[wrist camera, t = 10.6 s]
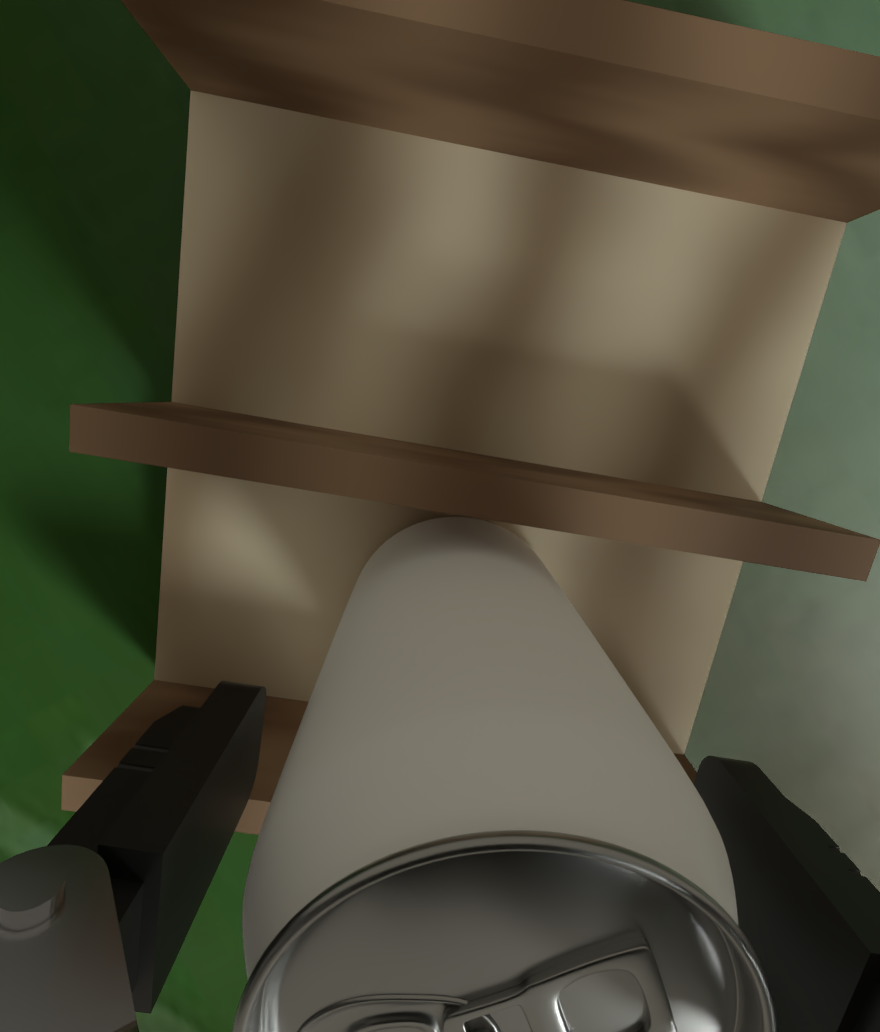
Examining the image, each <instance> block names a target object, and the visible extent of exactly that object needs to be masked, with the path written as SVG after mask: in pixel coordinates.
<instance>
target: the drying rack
mask: <svg viewBox="0 0 880 1032" xmlns="http://www.w3.org/2000/svg"><path fill="white" fill-rule="evenodd" d="M121 2H122V3H123V4H124V6H125V7H126V8H127V9H128V11H129V12H130V13H131V15H132V16H133V17H134V18H135V20H136V21H137V22H138V24H139V25H140V26H141V27H142V29H143V30H144V31H145V32H146V34H147V35H148V36H149V38H150V39H151V40H152V41H153V43H154V44H155V45H156V47H157V48H158V49H159V50H160V52H161V53H162V54H163V56H164V57H165V58H166V59H167V61H168V62H169V63H170V64H171V66H172V67H173V68H174V70H175V71H176V72H177V73H178V75H179V76H180V77H181V79H182V80H183V81H184V82H185V84H186V85H187V86H188V88H189V89H190V90H191V93H190V109H189V125H188V141H187V158H186V174H185V190H184V206H183V223H182V239H181V255H180V271H179V288H178V304H177V320H176V336H175V353H174V369H173V385H172V401H171V402H142V403H100V404H70V444H69V452H75V453H81V454H87V455H94V456H100V457H106V458H112V459H118V460H124V461H130V462H137V463H143V464H149V465H155V466H161V467H167V482H166V499H165V515H164V531H163V547H162V564H161V580H160V596H159V612H158V629H157V645H156V661H155V677H154V681H153V682H152V683H151V684H150V685H149V686H148V687H147V688H146V689H145V690H144V691H143V692H142V693H141V694H140V695H139V696H138V697H137V698H136V699H135V700H134V701H133V702H132V704H131V705H130V706H129V707H128V708H127V709H126V710H125V711H124V712H123V713H122V714H121V715H120V716H119V717H118V718H117V719H116V720H115V721H114V722H113V723H112V724H111V725H110V726H109V727H108V728H107V729H106V730H105V731H104V732H103V733H102V735H101V736H100V737H99V738H98V739H97V740H96V741H95V742H94V743H93V744H92V745H91V746H90V747H89V748H88V749H87V750H86V751H85V752H84V753H83V754H82V755H81V756H80V757H79V758H78V759H77V760H76V761H75V762H74V763H73V765H72V766H71V767H70V768H69V769H68V770H67V771H66V772H65V773H64V774H63V775H62V810H68V811H75V812H77V810H78V809H79V808H80V807H81V806H82V805H83V803H84V802H85V801H86V800H87V799H88V798H89V797H90V795H91V794H92V793H93V792H94V791H95V790H96V788H97V787H98V786H99V785H100V784H101V783H102V781H103V780H104V779H105V778H106V777H107V776H108V774H109V773H110V772H111V771H112V770H113V769H114V768H115V767H116V768H117V767H118V765H119V762H120V761H121V759H122V758H123V757H124V756H125V755H126V754H127V752H128V751H129V750H130V749H131V748H134V746H135V743H136V742H137V741H138V740H139V739H140V737H141V736H142V735H143V734H144V733H145V732H146V730H147V729H148V728H149V727H150V726H151V725H152V723H153V722H154V721H156V720H158V719H159V718H161V717H163V716H165V715H166V714H168V713H170V712H171V711H173V710H175V709H177V708H178V707H180V706H182V705H185V706H191V707H198V708H201V706H202V705H203V704H204V702H205V701H206V700H207V698H208V697H209V696H210V694H211V693H212V692H213V690H214V689H215V688H216V686H217V685H218V684H219V683H220V682H221V681H223V680H225V681H231V682H238V683H244V684H251V685H257V686H264V687H265V688H266V703H265V712H264V720H263V729H262V737H261V745H260V754H259V762H258V768H257V773H256V777H255V781H254V785H253V788H252V792H251V795H250V797H249V800H248V802H247V805H246V807H245V809H244V811H243V814H242V816H241V818H240V820H239V822H238V824H237V827H236V829H235V831H234V832H241V833H249V834H257V835H259V834H260V831H261V828H262V825H263V822H264V819H265V816H266V813H267V810H268V808H269V805H270V802H271V800H272V797H273V794H274V792H275V789H276V786H277V784H278V781H279V778H280V776H281V773H282V770H283V768H284V765H285V762H286V760H287V757H288V755H289V752H290V749H291V747H292V744H293V742H294V739H295V736H296V734H297V731H298V729H299V726H300V723H301V721H302V718H303V716H304V713H305V710H306V708H307V705H308V703H309V700H310V697H311V695H312V692H313V690H314V687H315V685H316V682H317V679H318V677H319V674H320V672H321V669H322V667H323V664H324V661H325V659H326V656H327V654H328V651H329V649H330V646H331V644H332V641H333V639H334V636H335V633H336V631H337V628H338V626H339V623H340V621H341V618H342V616H343V613H344V611H345V608H346V606H347V603H348V601H349V598H350V596H351V593H352V591H353V589H354V586H355V584H356V582H357V580H358V577H359V575H360V573H361V571H362V570H363V568H364V566H365V565H366V563H367V562H368V560H369V559H370V558H371V556H372V555H373V554H374V553H375V552H376V550H377V549H378V548H379V547H380V546H381V545H383V544H384V543H385V542H386V541H387V540H388V539H390V538H391V537H392V536H394V535H395V534H397V533H398V532H400V531H402V530H404V529H406V528H408V527H410V526H412V525H414V524H417V523H420V522H423V521H426V520H430V519H435V518H442V517H468V518H475V519H479V520H483V521H487V522H490V523H493V524H495V525H498V526H500V527H502V528H504V529H506V530H508V531H509V532H511V533H513V534H514V535H516V536H517V537H518V538H520V539H521V540H522V541H523V542H524V543H526V544H527V545H528V546H529V547H530V548H531V549H532V550H533V551H534V553H535V554H536V555H537V556H538V557H539V559H540V560H541V561H542V563H543V564H544V565H545V567H546V568H547V569H548V571H549V572H550V574H551V575H552V576H553V578H554V579H555V581H556V582H557V584H558V585H559V586H560V588H561V589H562V591H563V592H564V594H565V595H566V596H567V598H568V599H569V601H570V602H571V604H572V605H573V607H574V608H575V609H576V611H577V612H578V614H579V615H580V617H581V618H582V620H583V621H584V622H585V624H586V625H587V627H588V628H589V630H590V631H591V633H592V634H593V636H594V637H595V639H596V640H597V641H598V643H599V644H600V646H601V647H602V649H603V650H604V652H605V653H606V655H607V656H608V657H609V659H610V660H611V662H612V663H613V665H614V666H615V668H616V669H617V671H618V672H619V674H620V675H621V677H622V678H623V679H624V681H625V682H626V684H627V685H628V687H629V688H630V690H631V691H632V693H633V694H634V696H635V697H636V699H637V700H638V702H639V703H640V704H641V706H642V707H643V709H644V710H645V712H646V713H647V715H648V716H649V718H650V719H651V721H652V722H653V724H654V725H655V727H656V728H657V730H658V731H659V733H660V734H661V736H662V737H663V739H664V740H665V742H666V743H667V745H668V746H669V748H670V749H671V751H672V752H673V754H674V755H675V757H676V758H677V760H678V761H679V763H680V764H681V766H682V767H683V769H684V771H685V772H686V774H687V775H688V777H689V778H690V780H691V782H692V783H693V785H694V781H695V778H696V775H697V772H696V770H695V769H694V768H693V766H692V765H691V763H690V762H689V761H688V759H687V758H686V756H685V755H684V754H685V750H686V747H687V744H688V741H689V737H690V734H691V731H692V728H693V724H694V721H695V718H696V714H697V711H698V708H699V705H700V701H701V698H702V695H703V692H704V688H705V685H706V682H707V678H708V675H709V672H710V669H711V665H712V662H713V659H714V656H715V652H716V649H717V646H718V642H719V639H720V636H721V633H722V629H723V626H724V623H725V620H726V616H727V613H728V610H729V606H730V603H731V600H732V597H733V593H734V590H735V587H736V584H737V580H738V577H739V574H740V570H741V567H742V564H743V561H744V562H750V563H756V564H763V565H769V566H775V567H781V568H787V569H793V570H799V571H806V572H812V573H818V574H824V575H830V576H836V577H842V578H848V579H855V580H861V581H866V580H867V578H868V575H869V572H870V569H871V567H872V564H873V561H874V558H875V555H876V553H877V550H878V547H879V544H880V540H879V539H876V538H873V537H869V536H866V535H863V534H860V533H857V532H854V531H851V530H848V529H844V528H841V527H838V526H835V525H832V524H829V523H826V522H823V521H819V520H816V519H813V518H810V517H807V516H804V515H801V514H798V513H794V512H791V511H788V510H785V509H782V508H779V507H776V506H773V505H769V504H766V503H763V502H762V498H763V495H764V492H765V489H766V485H767V482H768V479H769V476H770V472H771V469H772V466H773V462H774V459H775V456H776V453H777V449H778V446H779V443H780V440H781V436H782V433H783V430H784V426H785V423H786V420H787V417H788V413H789V410H790V407H791V404H792V400H793V397H794V394H795V390H796V387H797V384H798V381H799V377H800V374H801V371H802V368H803V364H804V361H805V358H806V354H807V351H808V348H809V345H810V341H811V338H812V335H813V332H814V328H815V325H816V322H817V318H818V315H819V312H820V309H821V305H822V302H823V299H824V296H825V292H826V289H827V286H828V282H829V279H830V276H831V273H832V269H833V266H834V263H835V259H836V256H837V253H838V250H839V246H840V243H841V240H842V237H843V233H844V230H845V227H846V223H848V222H850V221H852V220H855V219H857V218H860V217H862V216H864V215H867V214H869V213H872V212H874V211H877V210H879V209H880V57H878V56H873V55H869V54H864V53H860V52H855V51H851V50H846V49H842V48H837V47H833V46H828V45H824V44H819V43H815V42H810V41H806V40H801V39H797V38H792V37H787V36H783V35H778V34H774V33H769V32H765V31H760V30H756V29H751V28H747V27H742V26H738V25H733V24H729V23H724V22H720V21H715V20H711V19H706V18H702V17H697V16H693V15H688V14H684V13H679V12H674V11H670V10H665V9H661V8H656V7H652V6H647V5H643V4H638V3H634V2H629V1H625V0H121Z"/></svg>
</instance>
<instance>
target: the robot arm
mask: <svg viewBox="0 0 880 1032" xmlns="http://www.w3.org/2000/svg"><path fill="white" fill-rule="evenodd" d="M265 703H266V688H265V687H264V686H257V685H251V684H244V683H238V682H231V681H225V680H223V681H221V682H220V683H219V684H218V685H217V686H216V688H215V689H214V690H213V692H212V693H211V694H210V696H209V697H208V698H207V700H206V701H205V702H204V704H203V705H202V706H201V708H198V707H191V706H185V705H182V706H180V707H178V708H177V709H175V710H173V711H171V712H170V713H168V714H166V715H165V716H163V717H161V718H159V719H158V720H156V721H154V722H153V723H152V725H151V726H150V727H149V728H148V729H147V730H146V732H145V733H144V734H143V735H142V736H141V737H140V739H139V740H138V741H137V742H136V743H135V746H134V748H131V749H130V750H129V751H128V752H127V754H126V755H125V756H124V757H123V758H122V759H121V761H120V762H119V765H118V767H117V768H116V767H115V768H114V769H113V770H112V771H111V772H110V773H109V774H108V776H107V777H106V778H105V779H104V780H103V781H102V783H101V784H100V785H99V786H98V787H97V788H96V790H95V791H94V792H93V793H92V794H91V795H90V797H89V798H88V799H87V800H86V801H85V802H84V803H83V805H82V806H81V807H80V808H79V809H78V810H77V812H76V813H75V814H74V815H73V816H72V817H71V819H70V820H69V821H68V822H67V823H66V824H65V826H64V827H63V828H62V829H61V830H60V831H59V832H58V834H57V835H56V836H55V837H54V838H53V839H52V841H51V842H50V843H49V844H48V845H47V846H45V847H40V848H36V849H32V850H29V851H26V852H23V853H21V854H18V855H15V856H13V857H11V858H9V859H7V860H5V861H3V862H1V863H0V1032H139V1029H138V1025H137V1020H136V1015H135V1012H143V1013H151V1011H152V1009H153V1007H154V1005H155V1003H156V1001H157V998H158V996H159V994H160V992H161V990H162V988H163V985H164V983H165V981H166V979H167V977H168V974H169V972H170V970H171V968H172V966H173V964H174V961H175V959H176V957H177V955H178V953H179V951H180V948H181V946H182V944H183V942H184V940H185V937H186V935H187V933H188V931H189V929H190V927H191V924H192V922H193V920H194V918H195V916H196V914H197V911H198V909H199V907H200V905H201V903H202V901H203V898H204V896H205V894H206V892H207V890H208V887H209V885H210V883H211V881H212V879H213V877H214V874H215V872H216V870H217V868H218V866H219V864H220V861H221V859H222V857H223V855H224V853H225V850H226V848H227V846H228V844H229V842H230V840H231V837H232V835H233V833H234V831H235V829H236V827H237V824H238V822H239V820H240V818H241V816H242V814H243V811H244V809H245V807H246V805H247V802H248V800H249V797H250V795H251V792H252V788H253V785H254V781H255V777H256V773H257V768H258V762H259V754H260V745H261V737H262V729H263V720H264V712H265ZM694 786H695V788H696V790H697V791H698V793H699V794H700V796H701V798H702V800H703V801H704V803H705V805H706V807H707V809H708V811H709V813H710V815H711V817H712V819H713V821H714V823H715V825H716V827H717V829H718V831H719V833H720V835H721V838H722V841H723V843H724V846H725V849H726V853H727V856H728V860H729V864H730V868H731V873H732V877H733V883H734V889H735V896H736V905H737V915H738V925H739V927H740V929H741V930H742V931H743V933H744V934H745V936H746V937H747V939H748V940H749V942H750V943H751V945H752V946H753V948H754V950H755V952H756V954H757V955H758V957H759V959H760V961H761V963H762V966H763V968H764V970H765V973H766V975H767V978H768V981H769V984H770V987H771V991H772V994H773V999H774V1003H775V1009H776V1017H777V1032H880V892H879V891H878V890H877V889H876V888H875V887H874V885H873V884H872V883H871V882H870V881H869V880H868V879H867V878H866V877H863V876H861V874H860V870H859V869H858V868H857V867H856V865H855V864H854V863H853V862H852V861H851V860H850V859H849V858H848V857H847V855H846V854H845V853H840V850H839V847H838V845H837V844H836V843H835V842H834V841H833V840H832V839H831V838H830V837H829V835H828V834H827V833H826V832H825V831H824V830H823V829H822V828H821V827H820V825H819V824H818V823H817V822H816V821H815V820H814V819H812V818H811V817H810V816H808V815H807V814H806V813H805V812H803V811H802V810H801V809H799V808H798V807H797V806H795V805H794V804H793V803H792V802H790V801H789V800H788V799H786V798H785V797H784V796H783V794H782V793H781V792H780V791H779V790H778V789H777V788H776V786H775V785H774V784H773V783H772V782H771V781H770V780H769V779H768V777H767V776H766V775H765V774H764V773H763V772H762V771H761V769H760V768H759V767H758V766H757V765H755V764H754V763H752V762H748V761H741V760H735V759H728V758H722V757H715V756H708V757H706V758H704V759H703V761H702V762H701V764H700V766H699V769H698V772H697V775H696V778H695V781H694Z"/></svg>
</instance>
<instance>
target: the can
mask: <svg viewBox="0 0 880 1032" xmlns="http://www.w3.org/2000/svg"><path fill="white" fill-rule="evenodd" d="M242 930H243V946H244V956H245V964H246V972H247V979H248V981H247V984H246V986H245V988H244V991H243V993H242V996H241V999H240V1002H239V1005H238V1008H237V1012H236V1016H235V1020H234V1025H233V1030H232V1032H777V1017H776V1009H775V1003H774V999H773V994H772V991H771V987H770V984H769V981H768V978H767V975H766V973H765V970H764V968H763V966H762V963H761V961H760V959H759V957H758V955H757V954H756V952H755V950H754V948H753V946H752V945H751V943H750V942H749V940H748V939H747V937H746V936H745V934H744V933H743V931H742V930H741V929H740V927H739V925H738V915H737V905H736V896H735V889H734V883H733V877H732V873H731V868H730V864H729V860H728V856H727V853H726V849H725V846H724V843H723V841H722V838H721V835H720V833H719V831H718V829H717V827H716V825H715V823H714V821H713V819H712V817H711V815H710V813H709V811H708V809H707V807H706V805H705V803H704V801H703V800H702V798H701V796H700V794H699V793H698V791H697V790H696V788H695V786H694V785H693V783H692V782H691V780H690V778H689V777H688V775H687V774H686V772H685V771H684V769H683V767H682V766H681V764H680V763H679V761H678V760H677V758H676V757H675V755H674V754H673V752H672V751H671V749H670V748H669V746H668V745H667V743H666V742H665V740H664V739H663V737H662V736H661V734H660V733H659V731H658V730H657V728H656V727H655V725H654V724H653V722H652V721H651V719H650V718H649V716H648V715H647V713H646V712H645V710H644V709H643V707H642V706H641V704H640V703H639V702H638V700H637V699H636V697H635V696H634V694H633V693H632V691H631V690H630V688H629V687H628V685H627V684H626V682H625V681H624V679H623V678H622V677H621V675H620V674H619V672H618V671H617V669H616V668H615V666H614V665H613V663H612V662H611V660H610V659H609V657H608V656H607V655H606V653H605V652H604V650H603V649H602V647H601V646H600V644H599V643H598V641H597V640H596V639H595V637H594V636H593V634H592V633H591V631H590V630H589V628H588V627H587V625H586V624H585V622H584V621H583V620H582V618H581V617H580V615H579V614H578V612H577V611H576V609H575V608H574V607H573V605H572V604H571V602H570V601H569V599H568V598H567V596H566V595H565V594H564V592H563V591H562V589H561V588H560V586H559V585H558V584H557V582H556V581H555V579H554V578H553V576H552V575H551V574H550V572H549V571H548V569H547V568H546V567H545V565H544V564H543V563H542V561H541V560H540V559H539V557H538V556H537V555H536V554H535V553H534V551H533V550H532V549H531V548H530V547H529V546H528V545H527V544H526V543H524V542H523V541H522V540H521V539H520V538H518V537H517V536H516V535H514V534H513V533H511V532H509V531H508V530H506V529H504V528H502V527H500V526H498V525H495V524H493V523H490V522H487V521H483V520H479V519H475V518H468V517H442V518H435V519H430V520H426V521H423V522H420V523H417V524H414V525H412V526H410V527H408V528H406V529H404V530H402V531H400V532H398V533H397V534H395V535H394V536H392V537H391V538H390V539H388V540H387V541H386V542H385V543H384V544H383V545H381V546H380V547H379V548H378V549H377V550H376V552H375V553H374V554H373V555H372V556H371V558H370V559H369V560H368V562H367V563H366V565H365V566H364V568H363V570H362V571H361V573H360V575H359V577H358V580H357V582H356V584H355V586H354V589H353V591H352V593H351V596H350V598H349V601H348V603H347V606H346V608H345V611H344V613H343V616H342V618H341V621H340V623H339V626H338V628H337V631H336V633H335V636H334V639H333V641H332V644H331V646H330V649H329V651H328V654H327V656H326V659H325V661H324V664H323V667H322V669H321V672H320V674H319V677H318V679H317V682H316V685H315V687H314V690H313V692H312V695H311V697H310V700H309V703H308V705H307V708H306V710H305V713H304V716H303V718H302V721H301V723H300V726H299V729H298V731H297V734H296V736H295V739H294V742H293V744H292V747H291V749H290V752H289V755H288V757H287V760H286V762H285V765H284V768H283V770H282V773H281V776H280V778H279V781H278V784H277V786H276V789H275V792H274V794H273V797H272V800H271V802H270V805H269V808H268V810H267V813H266V816H265V819H264V822H263V825H262V828H261V831H260V834H259V836H258V839H257V842H256V845H255V848H254V852H253V856H252V859H251V863H250V867H249V871H248V876H247V880H246V885H245V890H244V898H243V919H242Z"/></svg>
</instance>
